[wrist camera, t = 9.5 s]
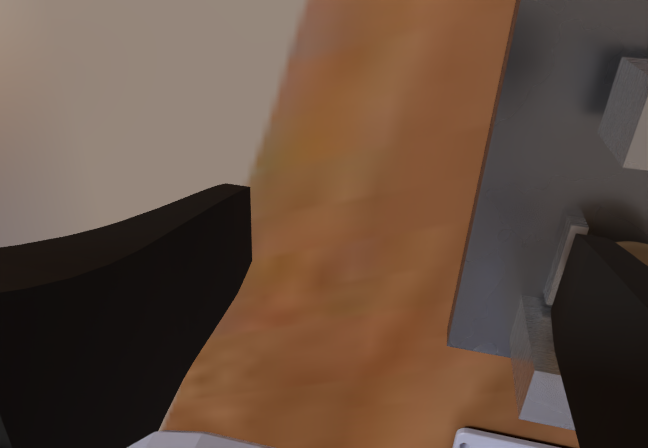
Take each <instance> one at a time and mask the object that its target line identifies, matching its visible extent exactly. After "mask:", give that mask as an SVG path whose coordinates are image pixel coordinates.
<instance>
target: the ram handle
mask: <svg viewBox="0 0 648 448" xmlns="http://www.w3.org/2000/svg"><path fill="white" fill-rule="evenodd" d="M598 134H599V136H600V137H601V138H602V140H603V141H604V143H605V144H606V145H607V147H608V148H609V149H610V151H611V152H612V154H613V155H614V156H615V158H616V159H617V160H618V162H619V163H620V165H621V166H622V167H623V168H631V169H639V170H648V59H643V58H632V57H621V60H620V63H619V67H618V70H617V73H616V76H615V79H614V82H613V86H612V89H611V92H610V95H609V98H608V101H607V104H606V108H605V111H604V114H603V117H602V120H601V123H600V127H599V130H598Z"/></svg>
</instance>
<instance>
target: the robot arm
mask: <svg viewBox="0 0 648 448" xmlns="http://www.w3.org/2000/svg"><path fill="white" fill-rule="evenodd" d="M251 262H252V241H251V204H250V187H247V186H240V185H233V184H222V185H217V186H214V187H211V188H208V189H206V190H203V191H200V192H198V193H195V194H193V195H190V196H188V197H185V198H183V199H180V200H178V201H175V202H173V203H170V204H168V205H165V206H162V207H160V208H157V209H155V210H152V211H149V212H146V213H143V214H140V215H137V216H135V217H132V218H129V219H126V220H123V221H120V222H117V223H114V224H111V225H108V226H104V227H100V228H97V229H93V230H89V231H85V232H81V233H77V234H73V235H69V236H65V237H59V238H54V239H48V240H43V241H38V242H33V243H27V244H22V245H15V246H8V247H1V248H0V448H274V447H270V446H266V445H261V444H257V443H253V442H248V441H244V440H240V439H236V438H231V437H227V436H223V435H218V434H214V433H210V432H196V431H170V430H164V431H158V430H159V428H160V426H161V424H162V421H163V419H164V417H165V415H166V413H167V411H168V409H169V407H170V405H171V403H172V401H173V399H174V397H175V395H176V393H177V391H178V389H179V387H180V385H181V383H182V381H183V379H184V377H185V375H186V374H187V372H188V370H189V369H190V367H191V365H192V363H193V362H194V360H195V359H196V357H197V356H198V354H199V353H200V351H201V349H202V348H203V346H204V345H205V343H206V342H207V340H208V339H209V337H210V336H211V334H212V333H213V331H214V329H215V328H216V326H217V325H218V323H219V322H220V320H221V319H222V317H223V316H224V314H225V312H226V311H227V309H228V308H229V306H230V305H231V303H232V301H233V300H234V298H235V297H236V295H237V293H238V291H239V289H240V287H241V285H242V283H243V280H244V278H245V276H246V274H247V271H248V269H249V267H250V264H251ZM551 323H552V334H553V342H554V351H555V355H556V359H557V363H558V367H559V371H560V374H561V378H562V382H563V386H564V390H565V393H566V397H567V401H568V405H569V408H570V412H571V416H572V420H573V423H574V427H575V431H576V435H577V438H578V442H579V447H580V448H648V266H647V265H646V264H644V263H643V262H642V261H640V260H639V259H638V258H636V257H635V256H634V255H632V254H631V253H630V252H628V251H627V250H626V249H624V248H623V247H621V246H620V245H618V244H617V243H615V242H614V241H612V240H610V239H609V238H606V237H599V236H592V235H585V234H578V233H576V234H575V237H574V240H573V244H572V247H571V250H570V253H569V256H568V259H567V262H566V265H565V268H564V271H563V274H562V277H561V280H560V283H559V286H558V289H557V292H556V295H555V298H554V301H553V305H552V308H551ZM463 443H466V444H463ZM453 448H560V447H555V446H551V445H546V444H541V443H536V442H532V441H527V440H522V439H517V438H513V437H508V436H503V435H498V434H494V433H489V432H484V431H479V430H475V429H470V428H461V429H459V430H458V431H457V432H456V436H455V440H454V444H453Z"/></svg>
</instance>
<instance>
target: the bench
mask: <svg viewBox="0 0 648 448" xmlns="http://www.w3.org/2000/svg"><path fill="white" fill-rule="evenodd" d="M621 57H632V58H643V59H648V0H516V4H515V9H514V14H513V18H512V23H511V28H510V33H509V38H508V42H507V47H506V52H505V57H504V61H503V66H502V71H501V76H500V81H499V85H498V90H497V95H496V100H495V104H494V109H493V114H492V119H491V124H490V128H489V133H488V138H487V143H486V147H485V152H484V157H483V162H482V167H481V171H480V176H479V181H478V186H477V190H476V195H475V200H474V205H473V210H472V214H471V219H470V224H469V229H468V233H467V238H466V243H465V248H464V252H463V257H462V262H461V267H460V272H459V276H458V281H457V286H456V291H455V295H454V300H453V305H452V310H451V315H450V319H449V324H448V329H447V346H450V347H455V348H461V349H466V350H471V351H477V352H482V353H488V354H493V355H498V356H504V357H509V358H511V362H512V370H513V378H514V386H515V393H516V401H517V409H518V417H519V419H522V420H527V421H532V422H537V423H541V424H546V425H551V426H556V427H561V428H566V429H571V430H575V427H574V423H573V420H572V416H571V412H570V408H569V405H568V401H567V397H566V393H565V390H564V386H563V382H562V378H561V374H560V371H559V367H558V363H557V359H556V355H555V351H554V342H553V334H552V323H551V308H552V305H553V301H554V298H555V295H556V292H557V289H558V286H559V283H560V280H561V277H562V274H563V271H564V268H565V265H566V262H567V259H568V256H569V253H570V250H571V247H572V244H573V240H574V237H575V234H576V233H578V234H585V235H592V236H599V237H606V238H609V239H610V240H612V241H614V242H621V241H633V242H640V243H645V244H648V170H639V169H631V168H623V167H622V166H621V165H620V163H619V162H618V160H617V159H616V158H615V156H614V155H613V154H612V152H611V151H610V149H609V148H608V147H607V145H606V144H605V143H604V141H603V140H602V138H601V137H600V136H599V134H598V130H599V127H600V123H601V120H602V117H603V114H604V111H605V108H606V104H607V101H608V98H609V95H610V92H611V89H612V86H613V82H614V79H615V76H616V73H617V70H618V67H619V63H620V60H621Z"/></svg>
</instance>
